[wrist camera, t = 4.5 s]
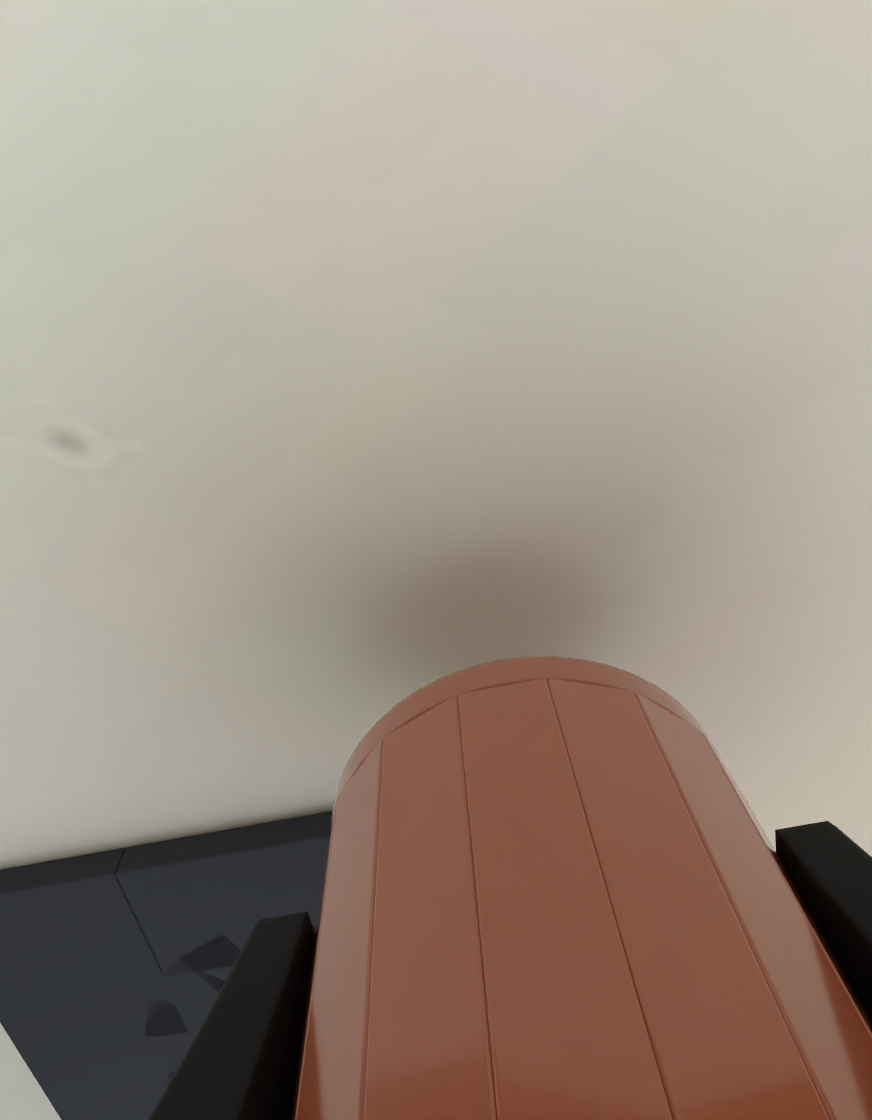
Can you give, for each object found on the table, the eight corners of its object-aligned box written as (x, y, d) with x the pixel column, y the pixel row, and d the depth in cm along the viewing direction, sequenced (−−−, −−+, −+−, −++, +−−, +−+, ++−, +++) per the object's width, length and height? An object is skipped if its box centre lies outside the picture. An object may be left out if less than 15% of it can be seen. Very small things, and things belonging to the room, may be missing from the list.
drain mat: (114, 1158, 23) (104, 1189, 22) (-55, 879, 19) (-74, 906, 18) (664, 1073, 22) (672, 1102, 21) (623, 759, 18) (632, 782, 17)
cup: (381, 990, 13) (346, 1921, 6) (285, 698, 10) (38, 1649, 4) (735, 931, 12) (1141, 1834, 5) (713, 617, 10) (1357, 1484, 3)
